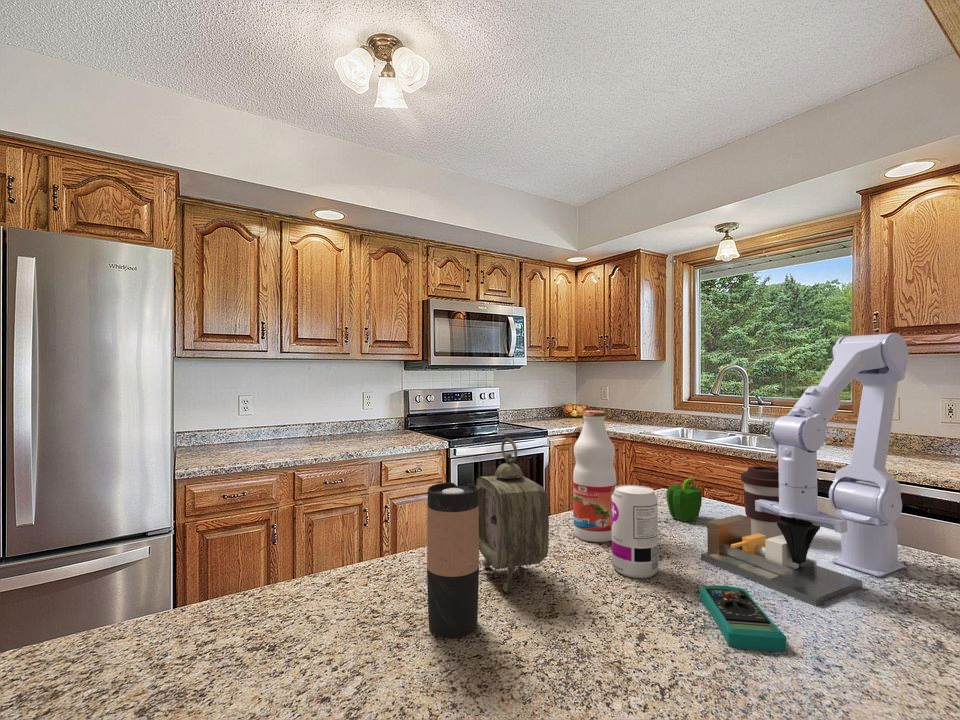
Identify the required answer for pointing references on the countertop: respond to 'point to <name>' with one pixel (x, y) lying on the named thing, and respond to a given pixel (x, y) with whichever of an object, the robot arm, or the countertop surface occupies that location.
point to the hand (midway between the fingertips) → (798, 561)
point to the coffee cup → (761, 486)
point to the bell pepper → (684, 501)
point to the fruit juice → (593, 480)
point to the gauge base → (772, 565)
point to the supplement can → (634, 531)
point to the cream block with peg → (776, 551)
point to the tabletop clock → (512, 519)
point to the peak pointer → (751, 542)
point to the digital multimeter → (741, 619)
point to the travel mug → (452, 559)
